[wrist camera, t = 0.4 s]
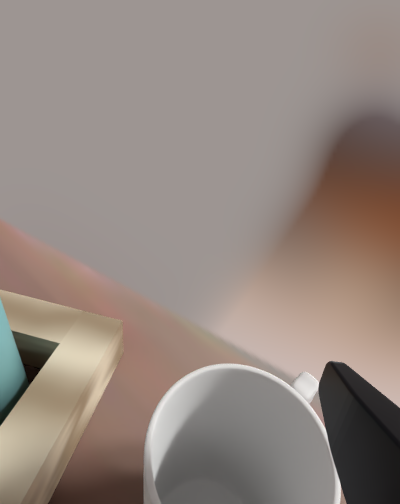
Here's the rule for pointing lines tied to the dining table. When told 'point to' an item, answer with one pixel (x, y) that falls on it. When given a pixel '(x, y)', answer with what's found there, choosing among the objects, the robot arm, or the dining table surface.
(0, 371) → the dowel
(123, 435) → the dining table surface
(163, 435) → the mug
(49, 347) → the pocket collar
